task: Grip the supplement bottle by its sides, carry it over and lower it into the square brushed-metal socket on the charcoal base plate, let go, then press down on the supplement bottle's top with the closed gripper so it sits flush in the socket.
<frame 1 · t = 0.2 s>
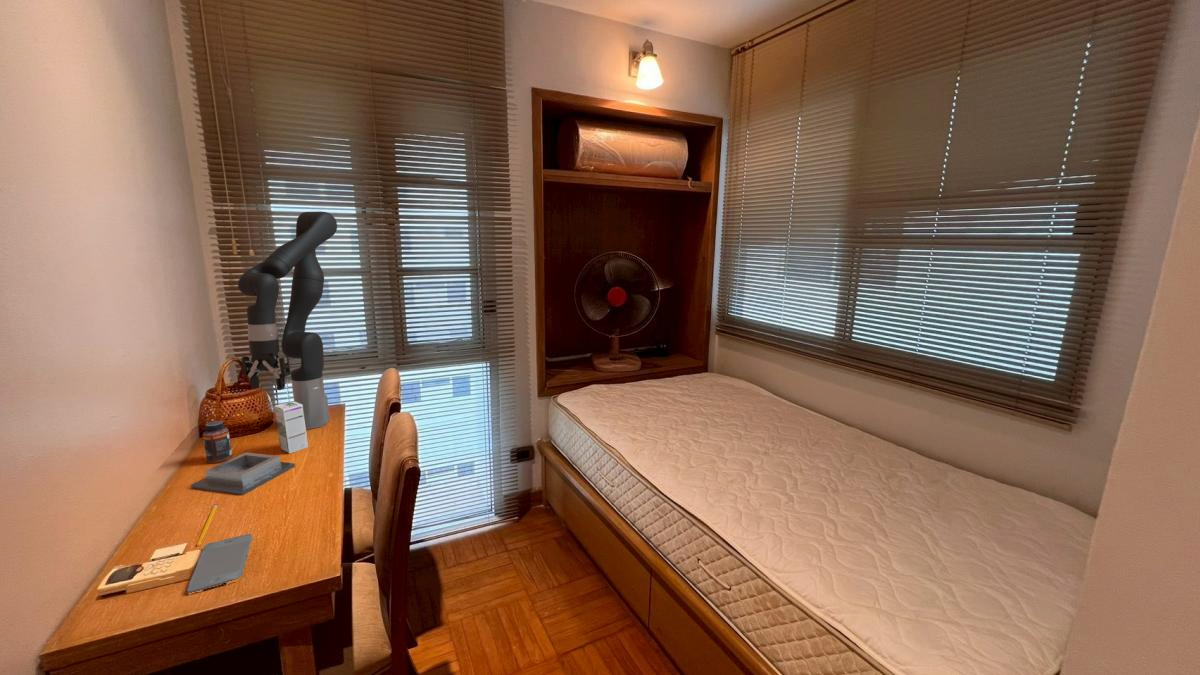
hand: (268, 389, 147), 18 cm above the table, tool pointing down, fingers open, 8 cm apart
phone: (222, 566, 93), on the table
pencil: (208, 526, 106), on the table
socket: (245, 476, 128), on the table
supplement bottle: (220, 460, 138), on the table
syrup box: (294, 449, 145), on the table
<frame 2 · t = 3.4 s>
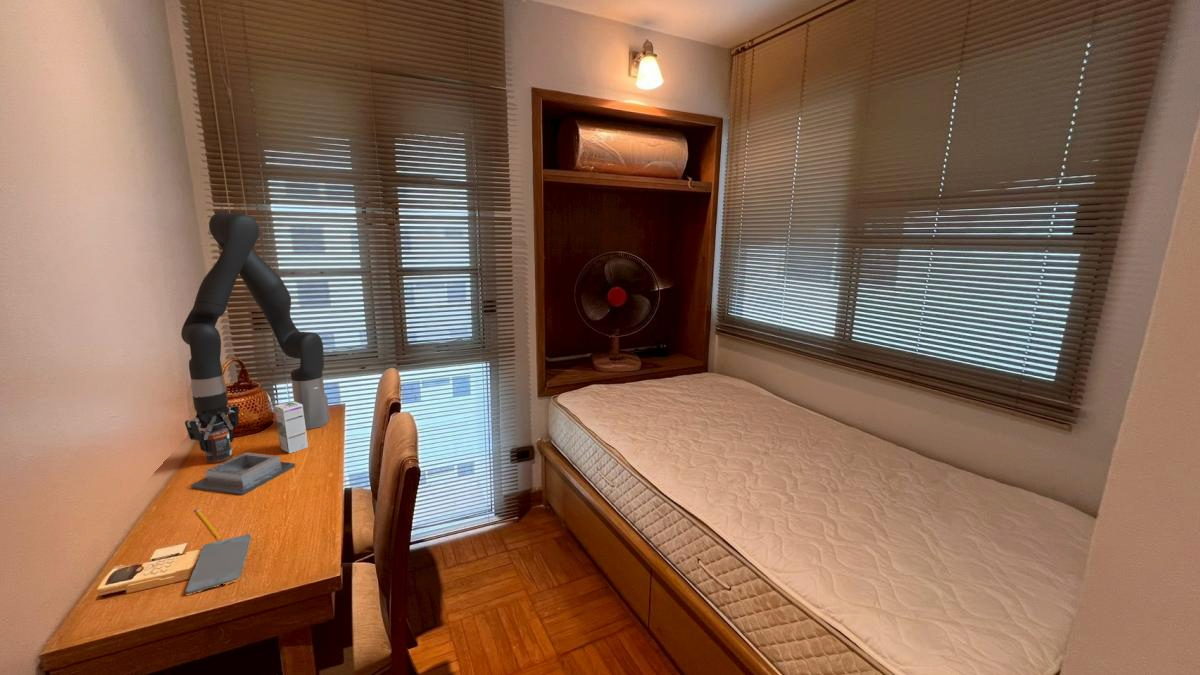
hand: (217, 446, 137), 4 cm above the table, tool pointing down, fingers closed on supplement bottle, 6 cm apart
supplement bottle: (220, 460, 138), on the table, touching gripper
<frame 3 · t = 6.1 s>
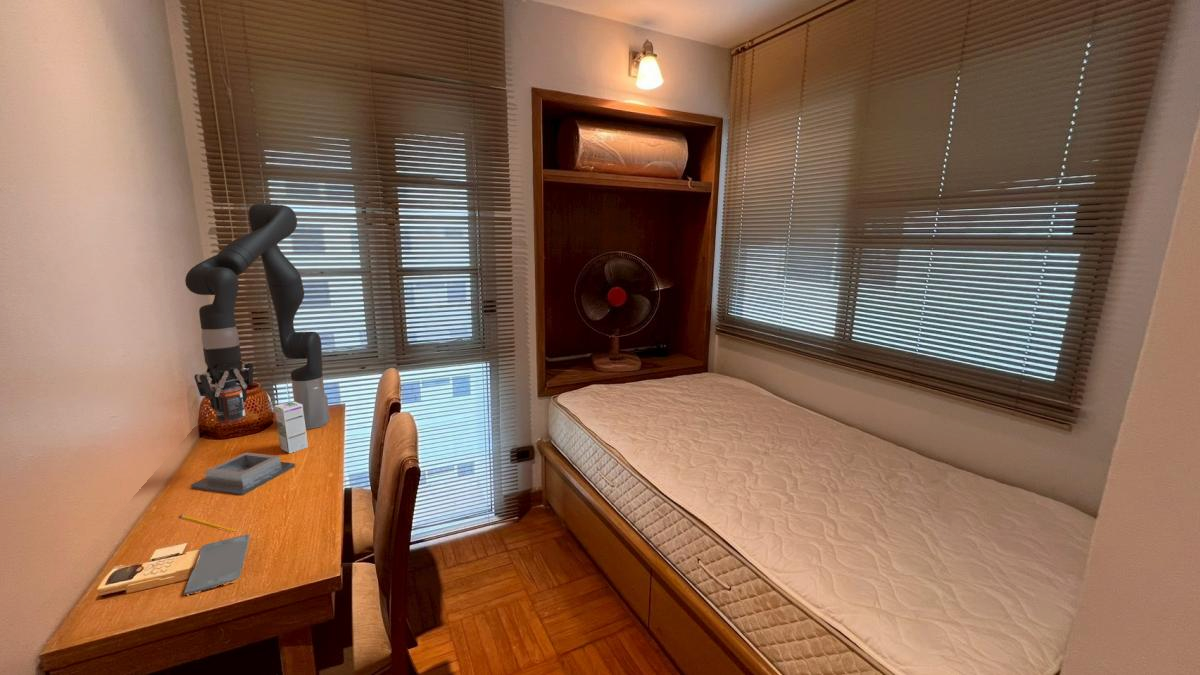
hand: (230, 405, 125), 20 cm above the table, tool pointing down, fingers closed on supplement bottle, 6 cm apart
supplement bottle: (232, 421, 126), point 16 cm above the table, touching gripper
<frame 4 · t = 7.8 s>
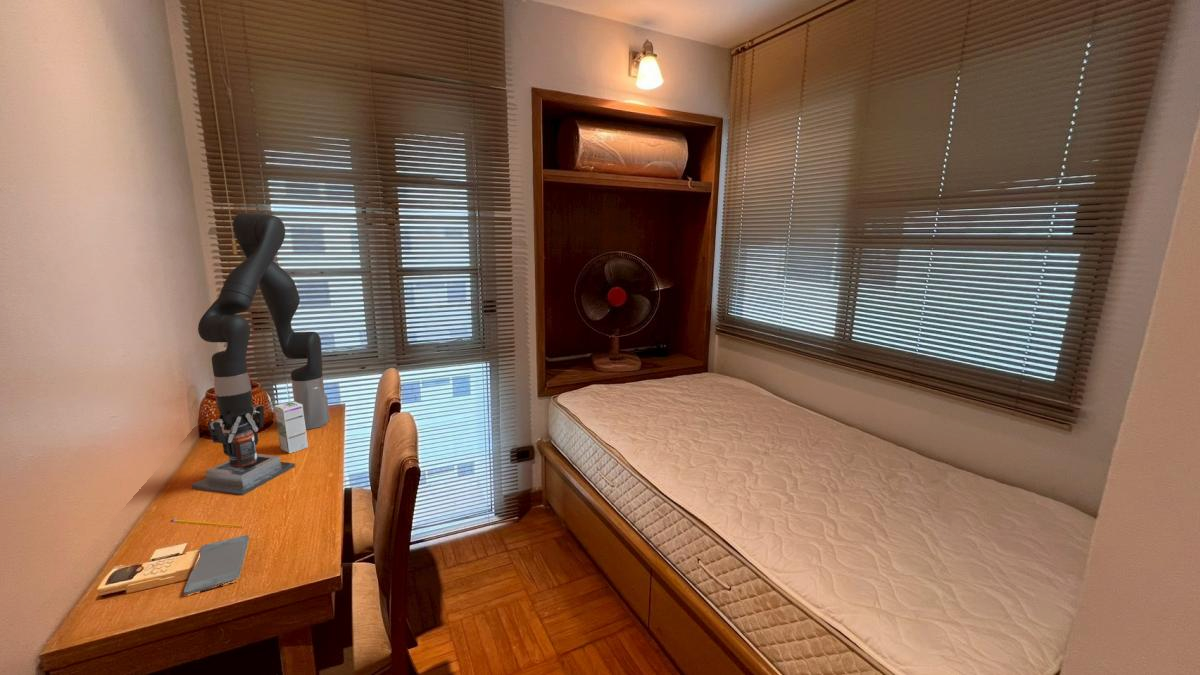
hand: (242, 449, 126), 8 cm above the table, tool pointing down, fingers closed on supplement bottle, 6 cm apart
supplement bottle: (244, 464, 127), point 4 cm above the table, touching gripper
when the fingers open (6 cm above the table, at t = 9.1 s): supplement bottle stays where it is, resting on socket.
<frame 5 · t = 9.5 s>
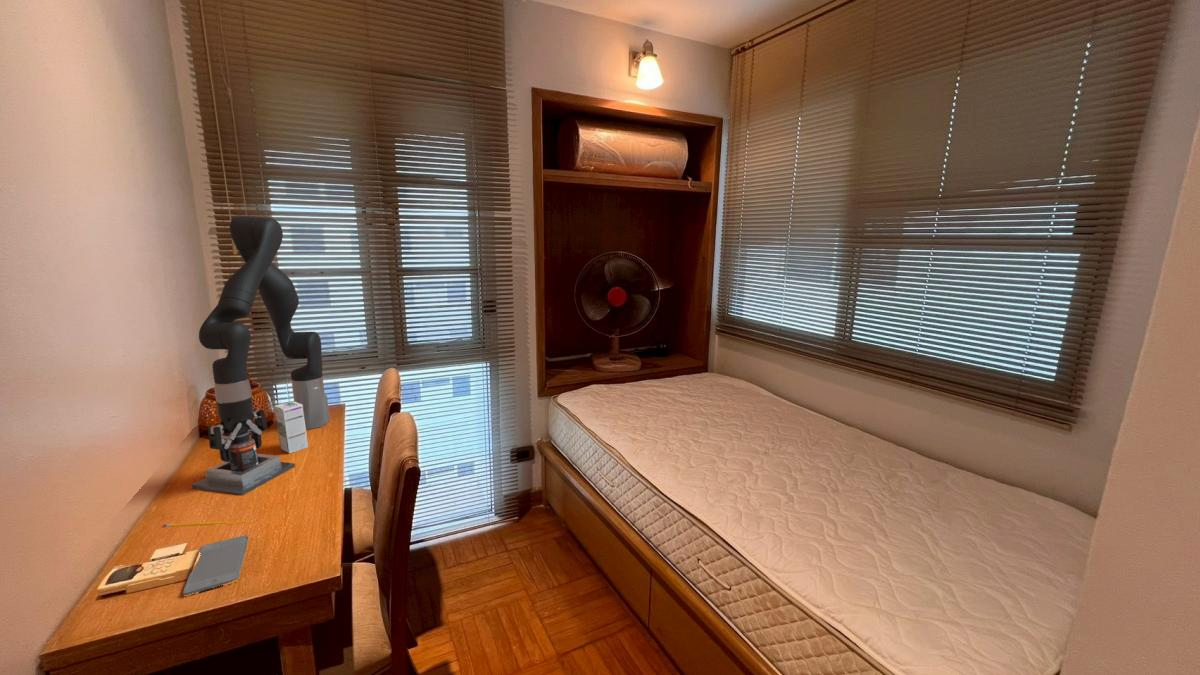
hand: (242, 454, 126), 7 cm above the table, tool pointing down, fingers open, 8 cm apart
supplement bottle: (246, 473, 128), point 1 cm above the table, touching socket
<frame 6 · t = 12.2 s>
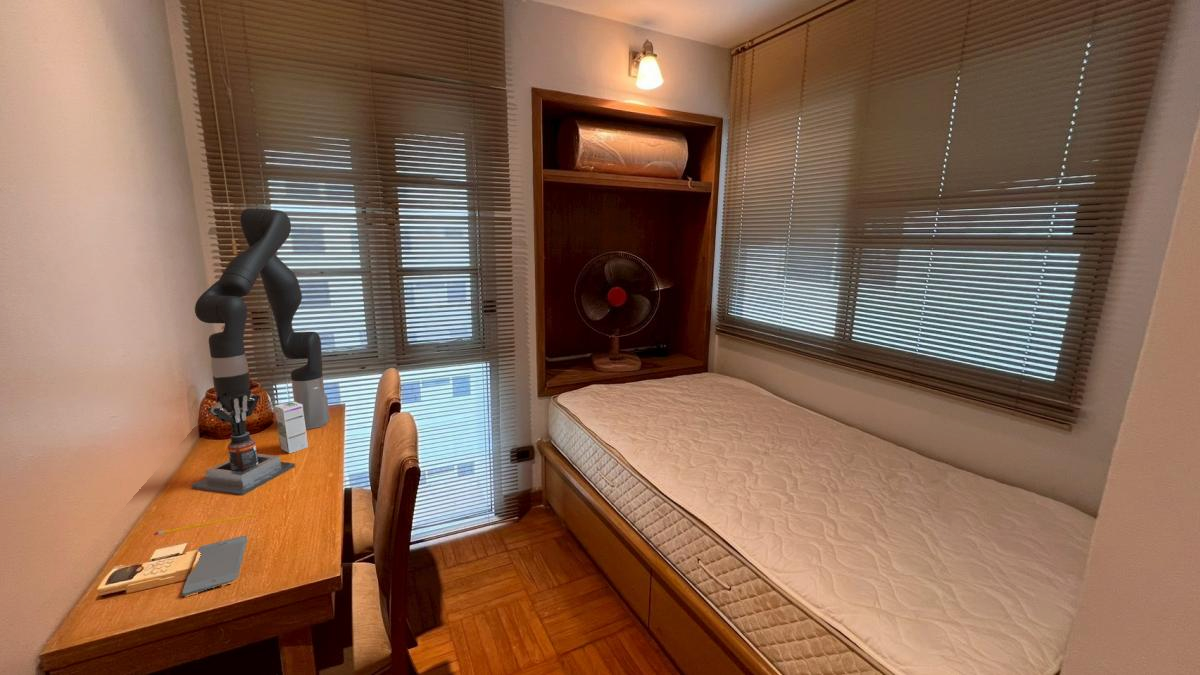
hand: (239, 434, 125), 12 cm above the table, tool pointing down, fingers closed
supplement bottle: (246, 473, 128), point 1 cm above the table, touching gripper, socket
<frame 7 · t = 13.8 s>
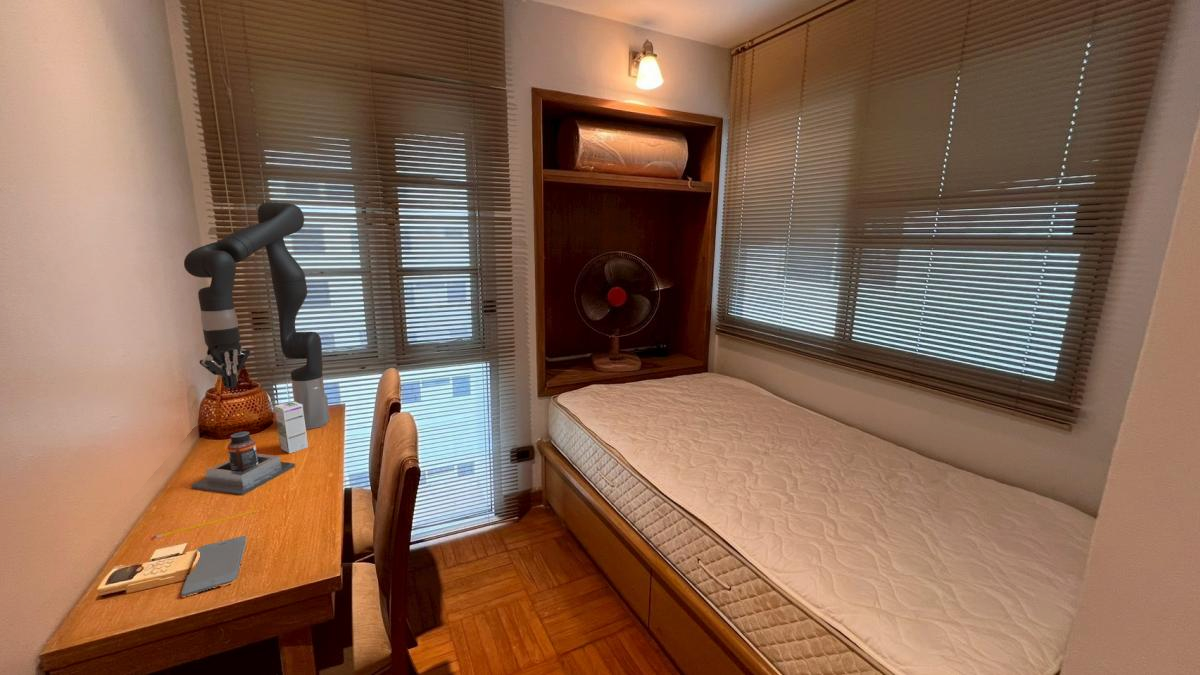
hand: (230, 387, 129), 24 cm above the table, tool pointing down, fingers closed
supplement bottle: (246, 473, 128), point 1 cm above the table, touching socket
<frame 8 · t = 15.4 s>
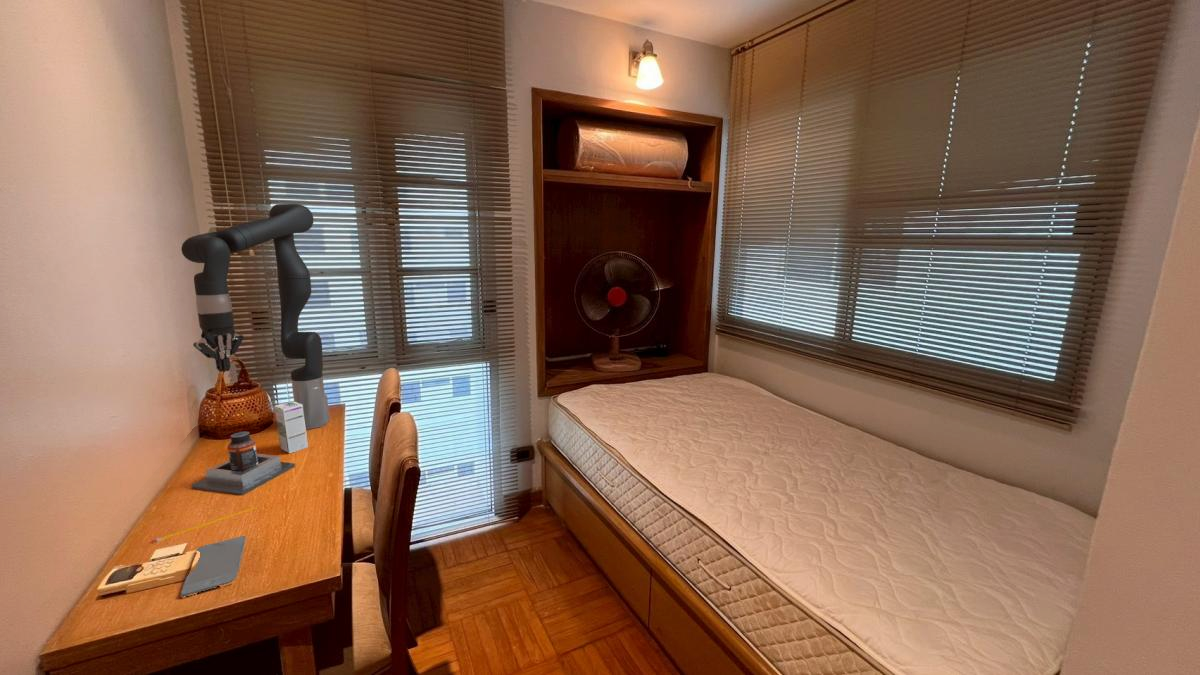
hand: (224, 371, 133), 27 cm above the table, tool pointing down, fingers closed
at the end: supplement bottle 0.2 cm off-centre on the socket, point 0.8 cm above the socket's base; supplement bottle tilted 0°; the gripper is holding nothing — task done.
